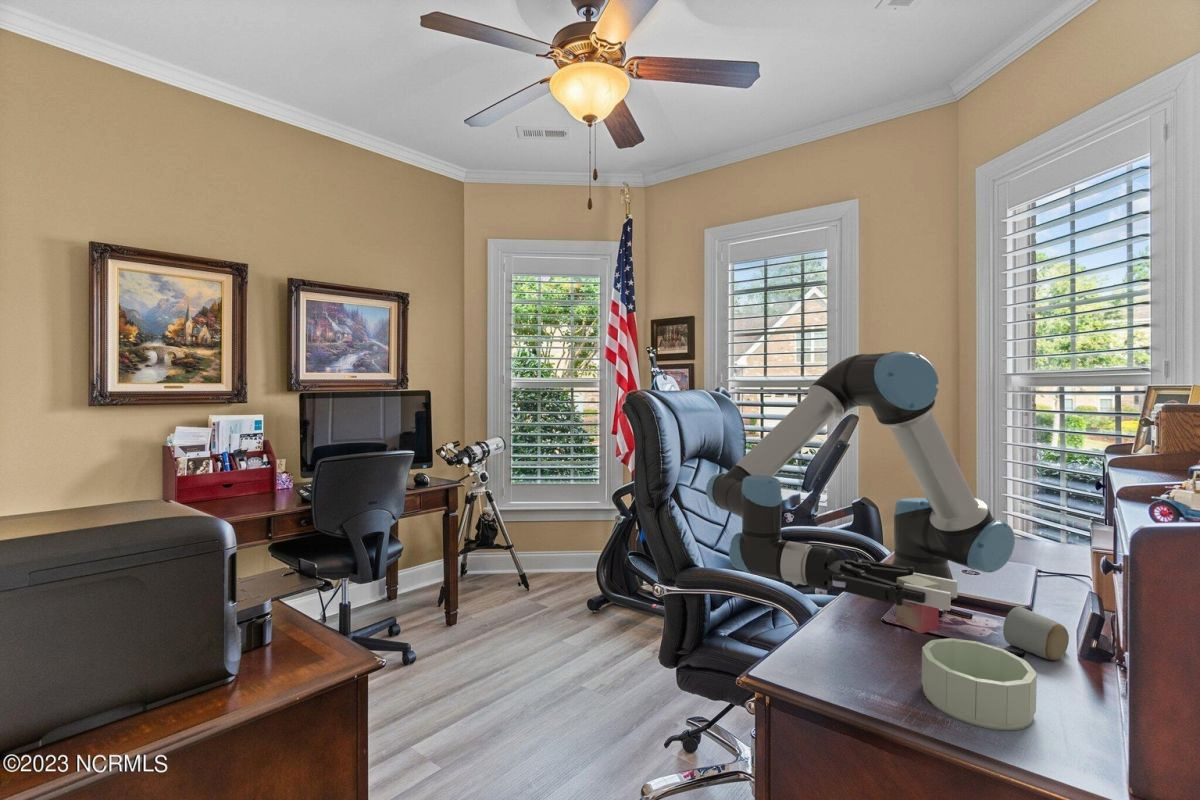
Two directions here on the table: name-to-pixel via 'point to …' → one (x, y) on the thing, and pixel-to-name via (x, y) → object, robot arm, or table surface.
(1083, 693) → the table surface
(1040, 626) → the ceramic mug
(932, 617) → the small box
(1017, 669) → the sage bowl
